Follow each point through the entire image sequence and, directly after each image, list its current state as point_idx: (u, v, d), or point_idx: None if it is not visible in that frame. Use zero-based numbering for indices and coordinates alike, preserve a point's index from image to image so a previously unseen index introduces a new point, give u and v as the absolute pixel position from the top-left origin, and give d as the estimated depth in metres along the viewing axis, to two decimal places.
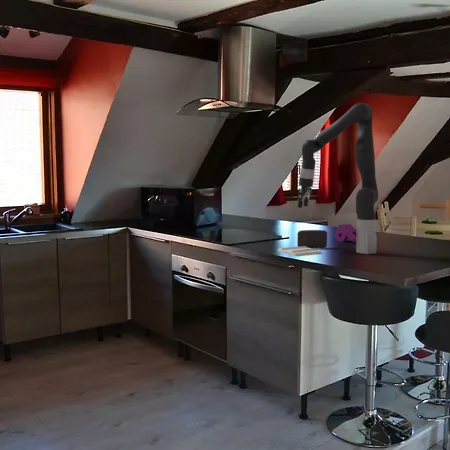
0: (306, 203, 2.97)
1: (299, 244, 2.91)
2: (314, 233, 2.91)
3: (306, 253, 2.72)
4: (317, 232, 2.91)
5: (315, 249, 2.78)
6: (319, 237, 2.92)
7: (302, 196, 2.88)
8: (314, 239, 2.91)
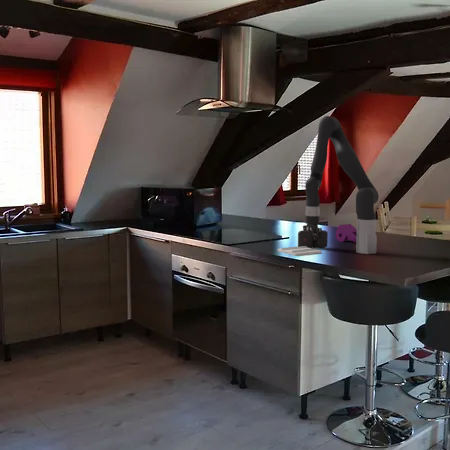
0: None
1: (300, 244, 2.90)
2: None
3: (306, 253, 2.72)
4: None
5: (315, 249, 2.78)
6: None
7: None
8: None
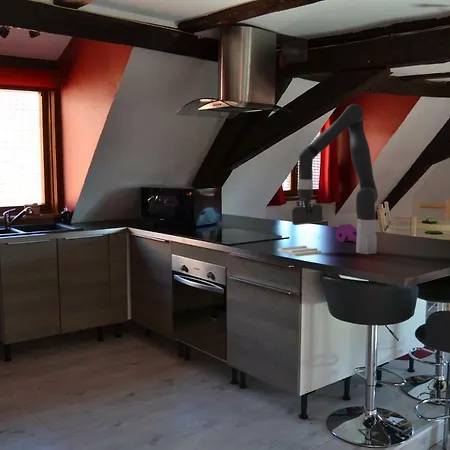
0: None
1: (294, 221, 2.80)
2: None
3: (306, 253, 2.72)
4: None
5: (315, 249, 2.78)
6: (315, 212, 2.81)
7: None
8: (309, 215, 2.80)
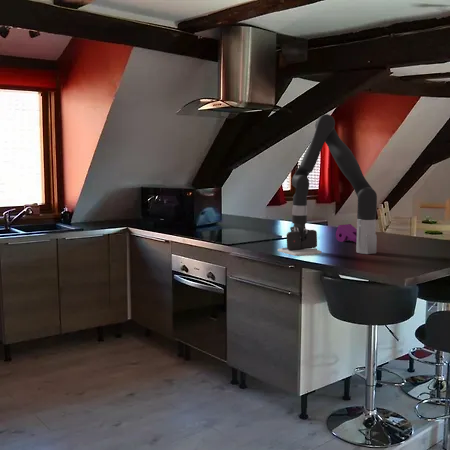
0: None
1: (289, 246, 2.75)
2: None
3: (306, 253, 2.72)
4: None
5: (315, 249, 2.78)
6: (309, 237, 2.77)
7: None
8: (304, 240, 2.77)
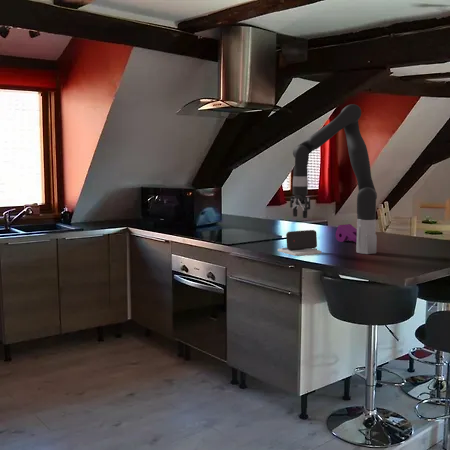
0: (296, 213, 2.81)
1: (289, 246, 2.75)
2: (303, 233, 2.77)
3: (306, 253, 2.72)
4: (306, 232, 2.77)
5: (315, 249, 2.78)
6: (309, 237, 2.78)
7: None
8: (303, 240, 2.77)
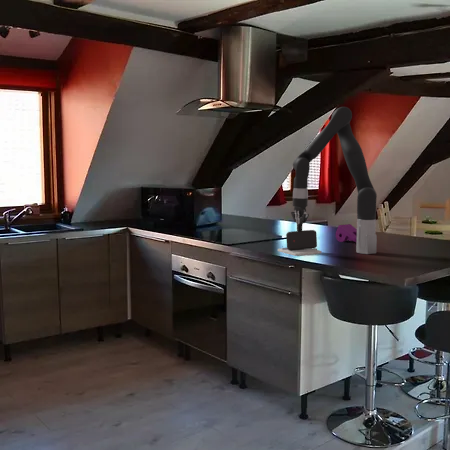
0: None
1: (289, 246, 2.75)
2: (303, 233, 2.77)
3: (306, 253, 2.72)
4: (306, 232, 2.77)
5: (315, 249, 2.78)
6: (309, 237, 2.78)
7: None
8: (303, 240, 2.77)
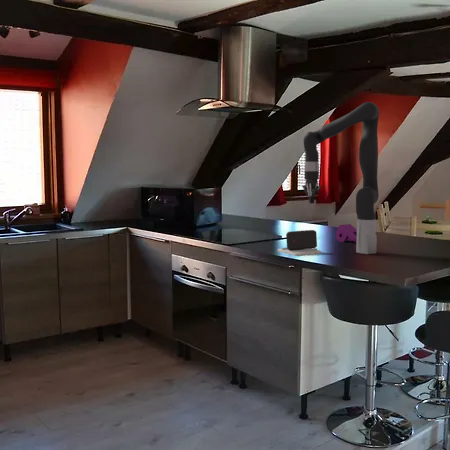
0: None
1: (289, 246, 2.75)
2: (303, 233, 2.77)
3: (306, 253, 2.72)
4: (306, 232, 2.77)
5: (315, 249, 2.78)
6: (309, 237, 2.78)
7: None
8: (303, 240, 2.77)
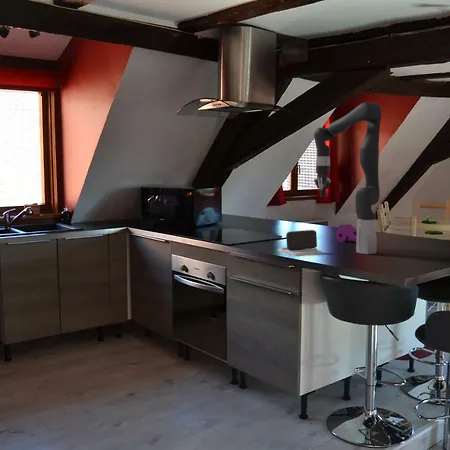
0: None
1: (289, 246, 2.75)
2: (303, 233, 2.77)
3: (306, 253, 2.72)
4: (306, 232, 2.77)
5: (315, 249, 2.78)
6: (309, 237, 2.78)
7: None
8: (303, 240, 2.77)
